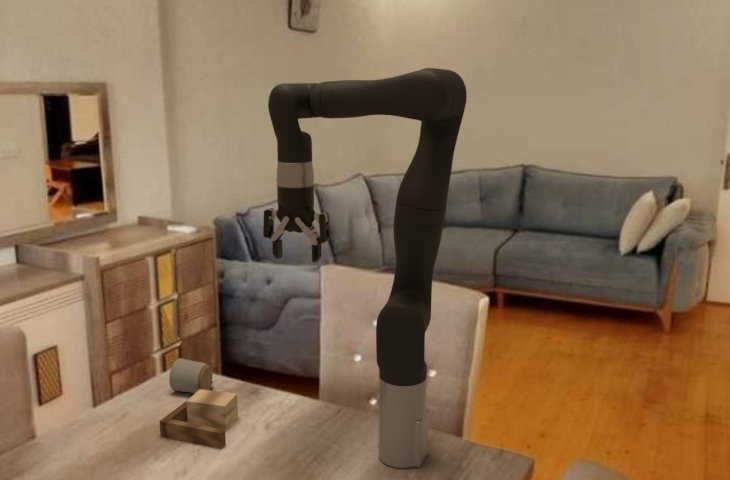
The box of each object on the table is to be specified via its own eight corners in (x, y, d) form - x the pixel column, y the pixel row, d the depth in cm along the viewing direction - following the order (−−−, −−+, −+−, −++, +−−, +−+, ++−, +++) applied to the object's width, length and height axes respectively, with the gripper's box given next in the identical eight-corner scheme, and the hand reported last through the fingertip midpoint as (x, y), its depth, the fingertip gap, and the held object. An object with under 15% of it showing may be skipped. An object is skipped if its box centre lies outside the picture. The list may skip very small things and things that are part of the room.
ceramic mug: (201, 399, 162) (199, 368, 161) (169, 395, 164) (167, 365, 163) (220, 381, 172) (219, 352, 171) (190, 377, 174) (189, 349, 173)
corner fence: (263, 409, 157) (263, 395, 157) (221, 449, 141) (221, 433, 140) (207, 399, 162) (206, 385, 161) (160, 436, 146) (159, 421, 145)
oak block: (238, 418, 154) (237, 393, 152) (226, 431, 148) (225, 406, 147) (201, 413, 156) (199, 389, 154) (187, 426, 150) (186, 401, 149)
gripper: (334, 182, 143) (335, 258, 147) (272, 178, 148) (274, 252, 152) (320, 188, 136) (320, 267, 140) (255, 183, 141) (258, 260, 145)
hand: (296, 259), depth 146 cm, fingers open, 8 cm apart
